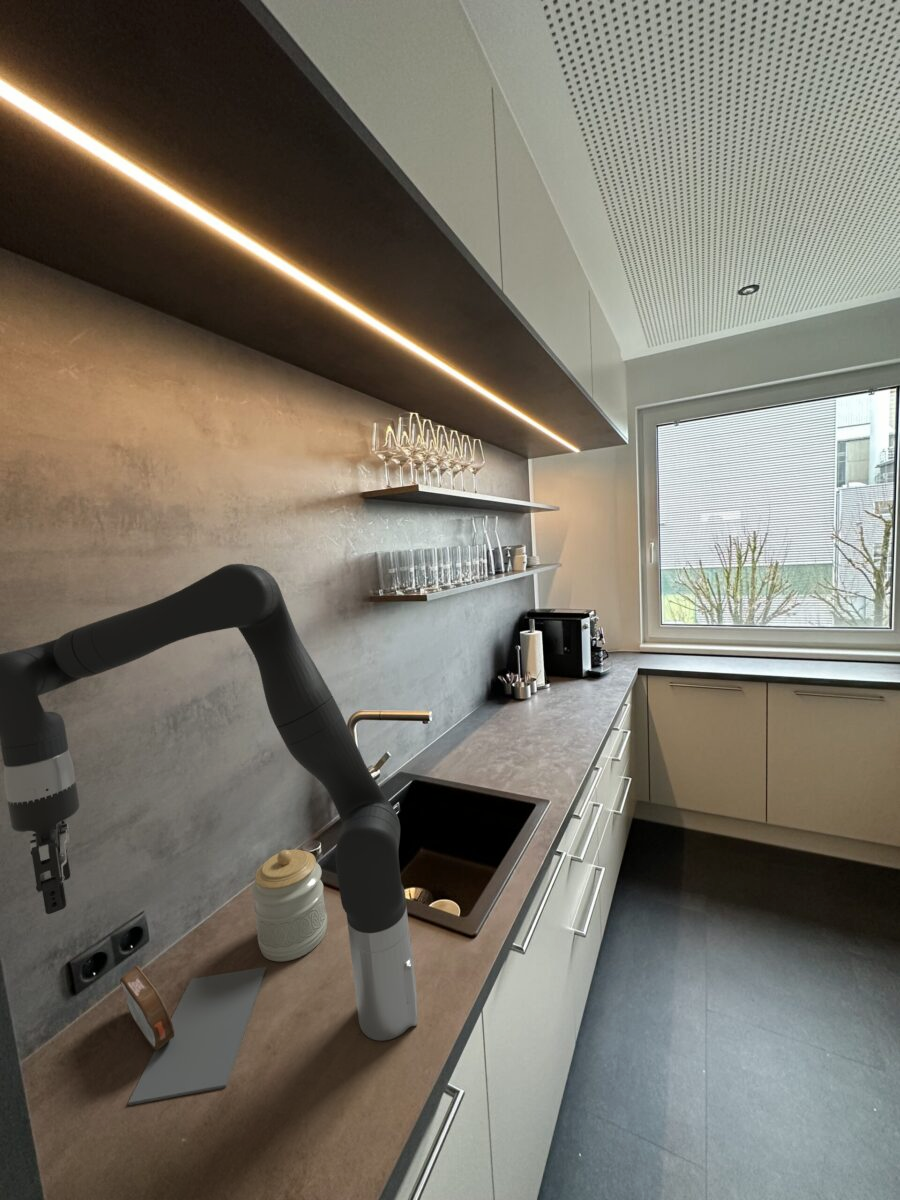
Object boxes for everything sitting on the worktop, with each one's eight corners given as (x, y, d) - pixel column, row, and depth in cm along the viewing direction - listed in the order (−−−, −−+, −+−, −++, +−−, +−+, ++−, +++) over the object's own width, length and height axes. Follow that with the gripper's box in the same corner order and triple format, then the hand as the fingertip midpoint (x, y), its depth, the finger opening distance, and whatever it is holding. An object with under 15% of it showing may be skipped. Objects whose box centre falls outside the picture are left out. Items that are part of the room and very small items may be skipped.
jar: (303, 969, 87) (292, 876, 85) (244, 958, 90) (232, 868, 89) (340, 916, 99) (330, 834, 98) (286, 908, 103) (276, 829, 101)
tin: (179, 1047, 73) (169, 996, 73) (157, 1065, 71) (145, 1013, 70) (145, 999, 83) (135, 954, 82) (124, 1014, 81) (114, 968, 80)
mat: (266, 968, 87) (265, 966, 87) (225, 1087, 68) (225, 1084, 68) (191, 981, 86) (191, 978, 86) (128, 1105, 66) (128, 1102, 66)
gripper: (72, 795, 65) (89, 908, 66) (77, 764, 77) (92, 861, 78) (-3, 815, 61) (17, 936, 62) (15, 780, 72) (32, 882, 74)
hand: (59, 894), depth 70 cm, fingers open, 8 cm apart
